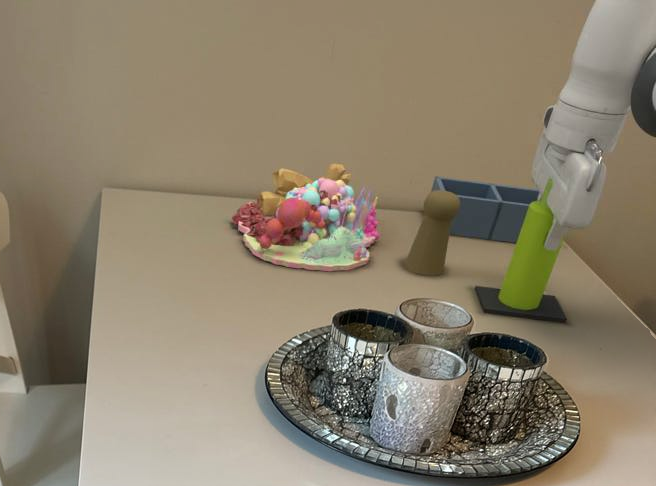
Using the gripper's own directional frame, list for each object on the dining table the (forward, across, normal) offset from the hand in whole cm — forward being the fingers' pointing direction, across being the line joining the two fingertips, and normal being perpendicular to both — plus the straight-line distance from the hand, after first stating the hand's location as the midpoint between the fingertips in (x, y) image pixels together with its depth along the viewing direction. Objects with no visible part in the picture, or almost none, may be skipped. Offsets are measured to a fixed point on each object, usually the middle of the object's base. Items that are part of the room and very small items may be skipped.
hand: (543, 238), depth 127 cm
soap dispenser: (+9, 0, 0) cm, 9 cm away
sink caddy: (+10, +30, 0) cm, 32 cm away
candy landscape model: (+10, +16, +31) cm, 36 cm away
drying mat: (+10, 0, 0) cm, 10 cm away
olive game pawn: (+10, +10, +13) cm, 19 cm away
